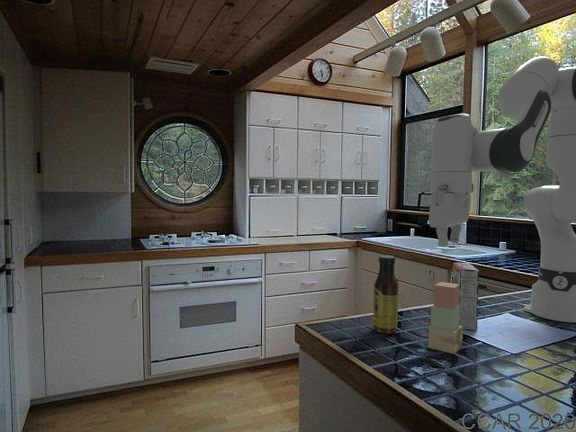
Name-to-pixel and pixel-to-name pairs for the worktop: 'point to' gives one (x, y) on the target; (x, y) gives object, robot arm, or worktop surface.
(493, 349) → the worktop surface
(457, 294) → the terracotta cube
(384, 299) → the sauce bottle
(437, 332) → the beige block
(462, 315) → the candy bar box
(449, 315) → the sage cube
